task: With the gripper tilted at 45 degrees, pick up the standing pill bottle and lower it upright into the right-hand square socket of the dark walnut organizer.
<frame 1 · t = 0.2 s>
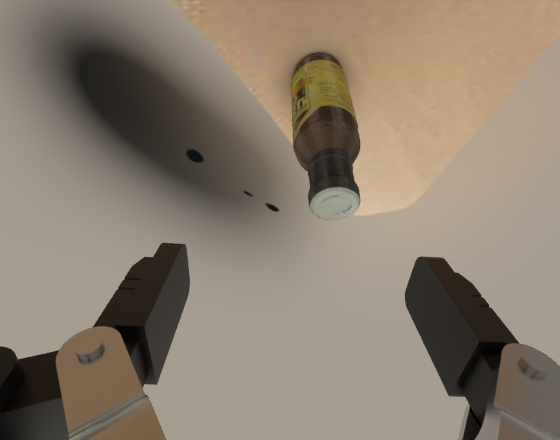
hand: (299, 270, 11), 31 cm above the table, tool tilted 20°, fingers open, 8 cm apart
sauce bottle: (316, 78, 38), on the table
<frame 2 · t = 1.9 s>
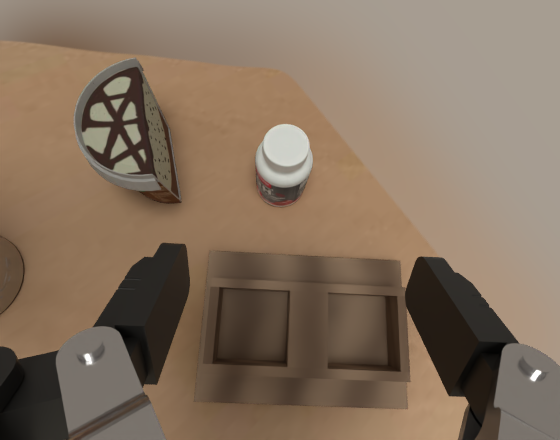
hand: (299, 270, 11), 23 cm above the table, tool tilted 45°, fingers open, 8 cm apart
pill bottle: (280, 186, 36), on the table
food container: (148, 169, 36), on the table
walnut organizer: (303, 325, 32), on the table
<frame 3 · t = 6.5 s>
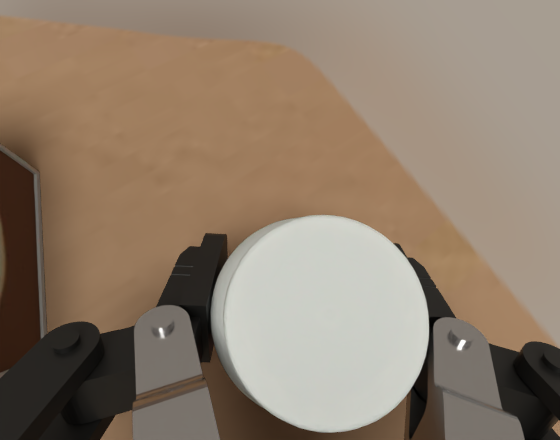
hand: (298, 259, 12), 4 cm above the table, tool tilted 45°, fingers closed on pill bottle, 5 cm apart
pill bottle: (288, 308, 16), on the table, touching gripper
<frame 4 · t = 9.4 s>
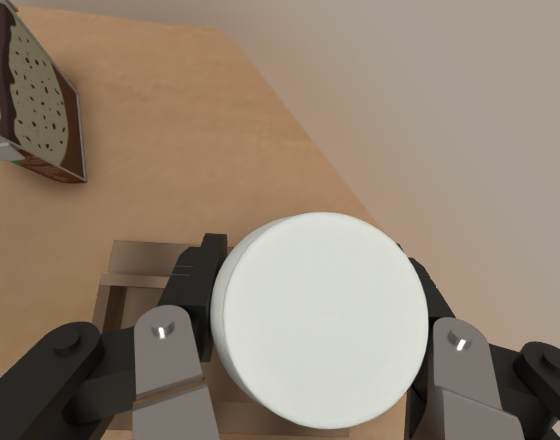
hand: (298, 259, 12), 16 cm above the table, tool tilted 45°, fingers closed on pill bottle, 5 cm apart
pill bottle: (288, 307, 16), point 12 cm above the table, touching gripper
food container: (49, 143, 30), on the table
walnut organizer: (226, 332, 26), on the table
when the fingers open (6 cm above the table, at t = 12.6 s): pill bottle stays where it is, resting on walnut organizer.
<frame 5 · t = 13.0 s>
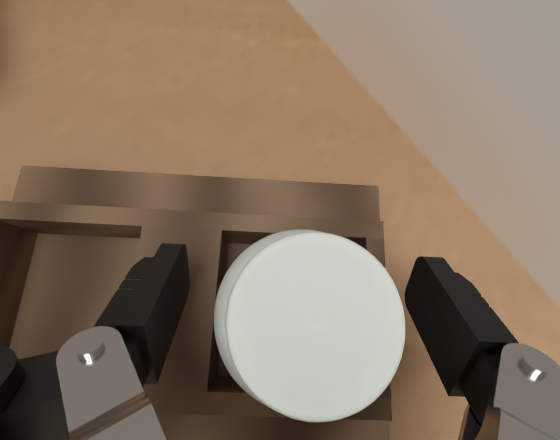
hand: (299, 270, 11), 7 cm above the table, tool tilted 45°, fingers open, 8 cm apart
pill bottle: (287, 311, 16), point 1 cm above the table, touching walnut organizer
walnut organizer: (193, 304, 17), on the table
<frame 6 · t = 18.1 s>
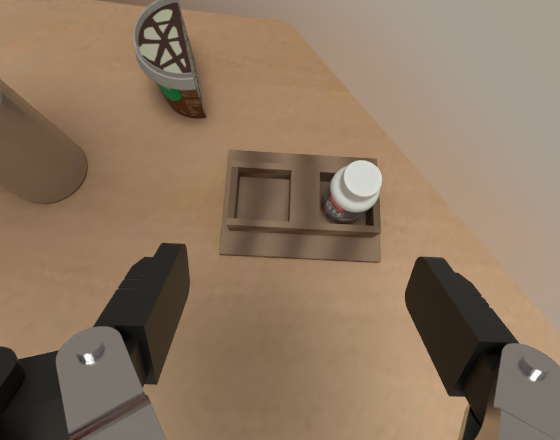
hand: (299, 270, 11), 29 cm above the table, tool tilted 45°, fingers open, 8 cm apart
pill bottle: (340, 207, 41), point 1 cm above the table, touching walnut organizer
food container: (179, 94, 46), on the table
walnut organizer: (301, 206, 42), on the table
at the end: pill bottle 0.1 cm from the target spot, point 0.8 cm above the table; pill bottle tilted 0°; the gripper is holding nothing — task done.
